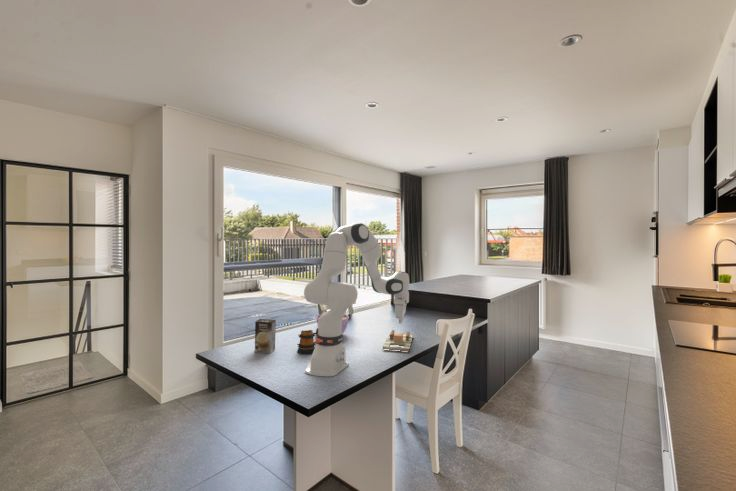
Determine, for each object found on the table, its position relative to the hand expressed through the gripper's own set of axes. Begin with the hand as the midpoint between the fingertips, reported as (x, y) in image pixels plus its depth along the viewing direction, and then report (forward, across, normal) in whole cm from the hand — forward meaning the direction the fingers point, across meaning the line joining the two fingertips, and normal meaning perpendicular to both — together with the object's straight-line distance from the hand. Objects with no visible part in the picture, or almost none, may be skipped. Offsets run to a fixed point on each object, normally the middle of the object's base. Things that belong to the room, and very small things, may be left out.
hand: (400, 322), depth 197 cm
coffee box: (+12, +35, -66) cm, 76 cm away
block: (+9, +6, 0) cm, 11 cm away
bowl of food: (+11, -1, -42) cm, 43 cm away
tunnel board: (+11, +3, 0) cm, 12 cm away
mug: (+12, +29, -44) cm, 54 cm away
